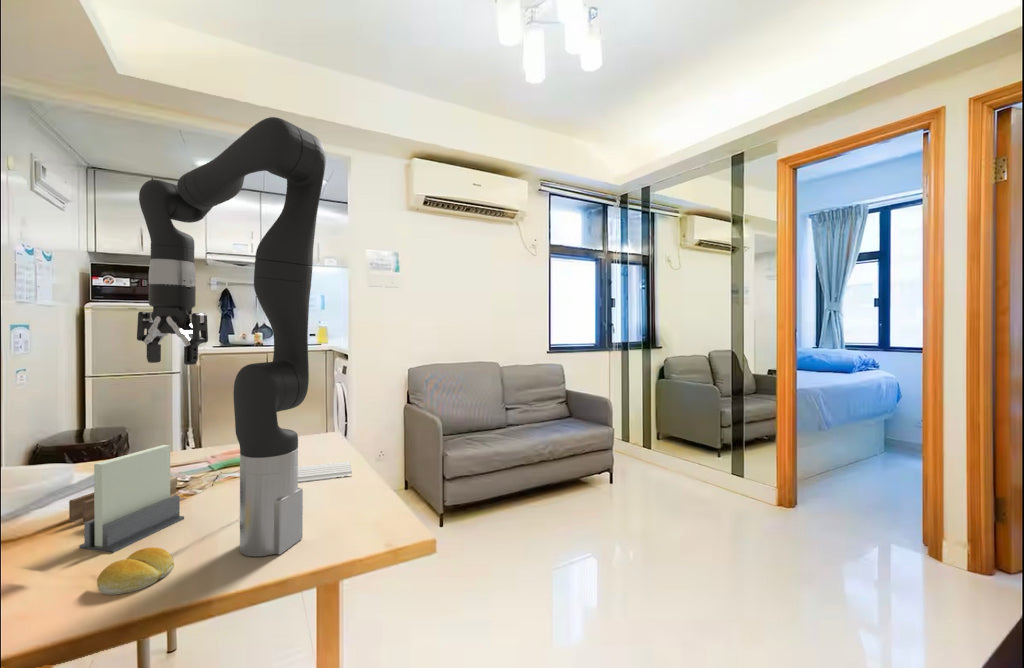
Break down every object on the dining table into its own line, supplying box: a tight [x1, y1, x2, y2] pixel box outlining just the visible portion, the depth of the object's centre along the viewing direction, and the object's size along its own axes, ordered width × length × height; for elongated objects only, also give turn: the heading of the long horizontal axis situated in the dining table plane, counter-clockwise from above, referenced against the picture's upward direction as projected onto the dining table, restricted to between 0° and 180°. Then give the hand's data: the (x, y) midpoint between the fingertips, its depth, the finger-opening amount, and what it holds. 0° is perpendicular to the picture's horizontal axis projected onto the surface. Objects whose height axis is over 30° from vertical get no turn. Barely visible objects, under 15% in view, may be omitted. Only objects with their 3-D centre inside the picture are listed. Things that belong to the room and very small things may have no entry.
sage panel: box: [93, 444, 171, 546], centre depth 80 cm, size 2×12×14 cm, turn 169°
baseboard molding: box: [211, 460, 353, 487], centre depth 113 cm, size 31×3×12 cm
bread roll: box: [96, 547, 176, 596], centre depth 68 cm, size 8×9×4 cm
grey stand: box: [78, 494, 185, 554], centre depth 80 cm, size 7×13×6 cm, turn 170°
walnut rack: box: [68, 492, 187, 524], centre depth 90 cm, size 12×14×6 cm
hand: (172, 363), depth 89 cm, fingers open, 8 cm apart
